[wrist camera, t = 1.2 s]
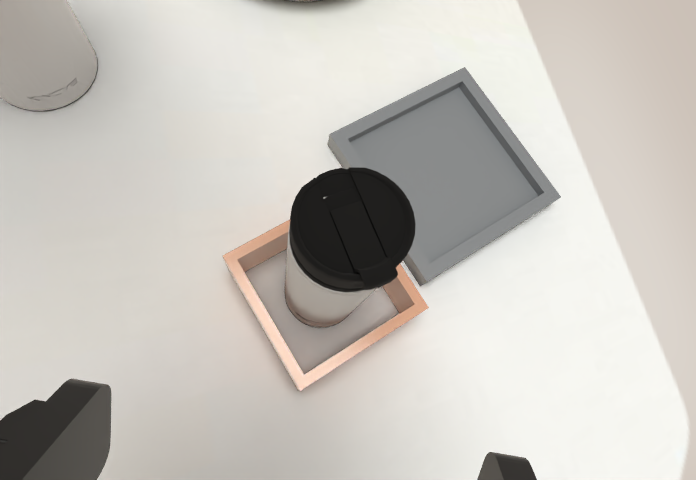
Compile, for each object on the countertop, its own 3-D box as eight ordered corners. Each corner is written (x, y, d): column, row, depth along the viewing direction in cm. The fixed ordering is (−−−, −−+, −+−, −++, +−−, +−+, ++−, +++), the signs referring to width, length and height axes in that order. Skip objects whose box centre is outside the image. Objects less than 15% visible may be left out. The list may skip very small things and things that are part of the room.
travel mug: (300, 342, 40) (320, 307, 21) (274, 270, 42) (270, 177, 23) (368, 316, 42) (443, 261, 23) (341, 247, 43) (389, 141, 24)
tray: (327, 144, 46) (329, 134, 44) (457, 79, 50) (464, 67, 48) (420, 286, 43) (426, 281, 41) (549, 204, 47) (561, 197, 45)
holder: (228, 270, 41) (222, 255, 36) (342, 208, 44) (350, 187, 39) (297, 389, 39) (300, 391, 34) (411, 316, 42) (428, 307, 38)
